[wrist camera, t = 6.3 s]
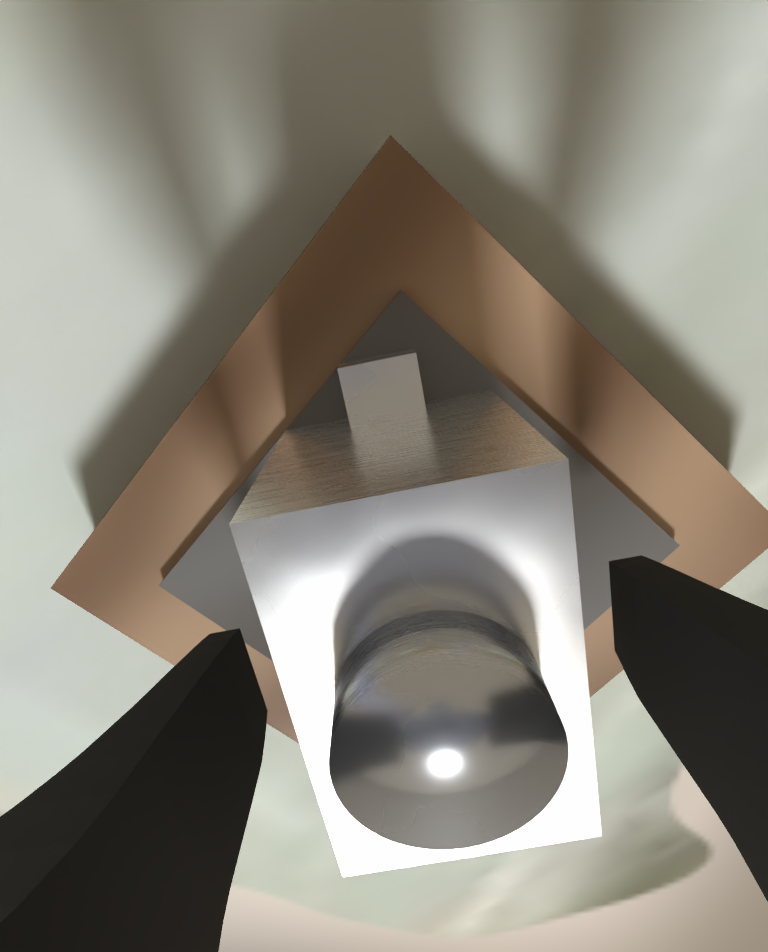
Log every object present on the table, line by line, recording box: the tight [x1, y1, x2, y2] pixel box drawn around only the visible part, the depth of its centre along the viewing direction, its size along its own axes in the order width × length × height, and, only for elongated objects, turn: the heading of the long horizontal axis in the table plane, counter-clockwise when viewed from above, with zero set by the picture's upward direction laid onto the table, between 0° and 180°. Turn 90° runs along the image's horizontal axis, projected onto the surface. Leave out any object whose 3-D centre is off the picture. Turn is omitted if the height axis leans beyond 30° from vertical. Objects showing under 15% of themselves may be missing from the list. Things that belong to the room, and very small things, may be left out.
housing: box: [229, 348, 602, 877], centre depth 10 cm, size 5×9×6 cm, turn 11°
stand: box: [51, 135, 768, 744], centre depth 15 cm, size 13×13×3 cm
